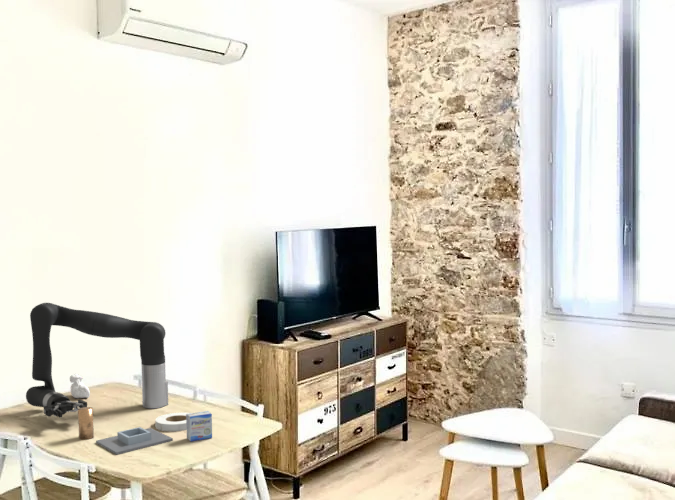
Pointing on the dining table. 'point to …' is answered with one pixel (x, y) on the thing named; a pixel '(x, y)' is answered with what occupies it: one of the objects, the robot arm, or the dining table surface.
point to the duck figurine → (78, 387)
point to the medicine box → (199, 426)
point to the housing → (133, 440)
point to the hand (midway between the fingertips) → (73, 412)
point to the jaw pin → (85, 423)
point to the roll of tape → (171, 422)
